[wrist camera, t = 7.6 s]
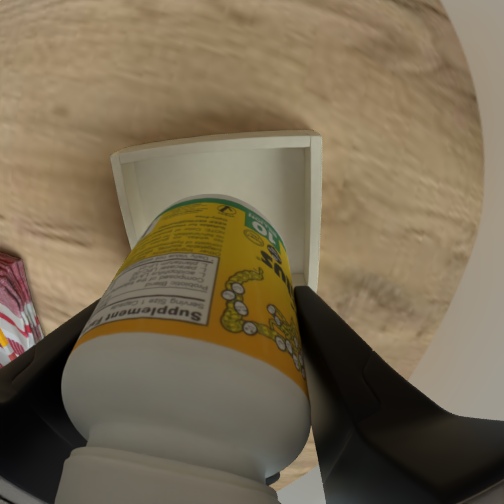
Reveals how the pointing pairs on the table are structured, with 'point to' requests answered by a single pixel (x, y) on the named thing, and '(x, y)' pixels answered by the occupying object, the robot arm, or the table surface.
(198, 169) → the ivory tray
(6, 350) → the pencil
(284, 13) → the table surface
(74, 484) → the supplement bottle
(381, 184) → the table surface
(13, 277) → the dish towel
